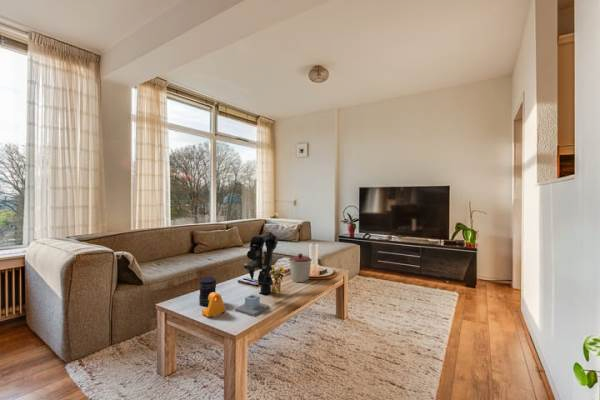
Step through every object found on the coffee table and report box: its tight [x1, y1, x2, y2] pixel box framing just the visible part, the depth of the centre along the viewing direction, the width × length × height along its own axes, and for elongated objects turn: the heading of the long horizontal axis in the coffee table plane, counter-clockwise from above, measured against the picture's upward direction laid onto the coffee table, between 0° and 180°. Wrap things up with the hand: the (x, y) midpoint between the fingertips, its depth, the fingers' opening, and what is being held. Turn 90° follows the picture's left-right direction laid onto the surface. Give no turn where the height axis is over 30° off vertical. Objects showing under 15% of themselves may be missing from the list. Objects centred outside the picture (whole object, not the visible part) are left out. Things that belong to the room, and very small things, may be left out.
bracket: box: [201, 291, 226, 318], centre depth 160 cm, size 11×7×12 cm, turn 139°
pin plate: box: [234, 302, 270, 317], centre depth 166 cm, size 14×14×6 cm
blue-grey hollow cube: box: [244, 293, 261, 310], centre depth 166 cm, size 6×6×6 cm
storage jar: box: [198, 276, 217, 308], centre depth 174 cm, size 10×10×15 cm
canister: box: [288, 253, 313, 283], centre depth 221 cm, size 18×18×21 cm
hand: (257, 280), depth 179 cm, fingers open, 9 cm apart
